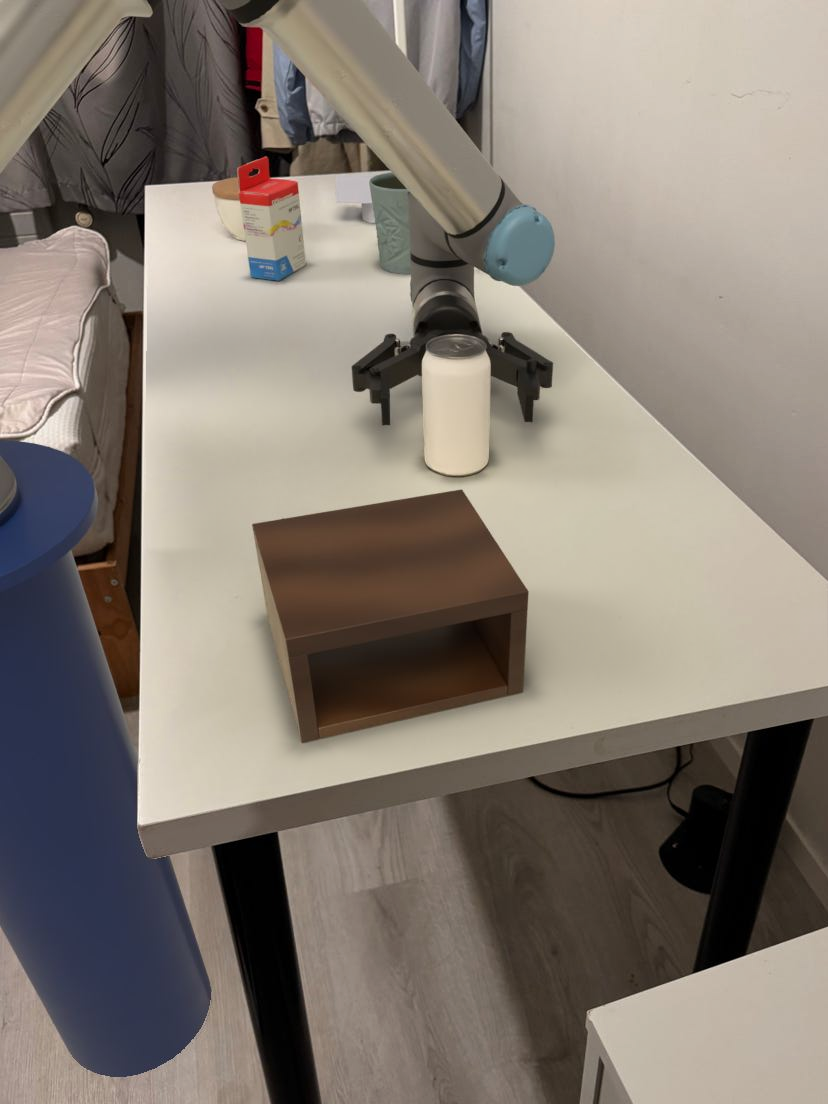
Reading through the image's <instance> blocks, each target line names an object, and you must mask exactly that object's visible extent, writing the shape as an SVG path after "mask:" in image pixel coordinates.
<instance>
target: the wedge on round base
mask: <svg viewBox="0 0 828 1104" xmlns="http://www.w3.org/2000/svg"><path fill="white" fill-rule="evenodd" d="M376 175H377V174H335V201H334V202H335V204H361V216H362V217H361V218H362V220H364V221H365V222H368V223H369V224H375V218H374V211H373V207H374V206H373V202H372V198H371V192H370V185H369V181H370V179H371V178H372V177H374V176H376Z"/></svg>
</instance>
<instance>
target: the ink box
mask: <svg viewBox="0 0 828 1104" xmlns="http://www.w3.org/2000/svg"><path fill="white" fill-rule="evenodd" d="M269 160H270V159H269V157H268V156H266V155H265V156H264V157H261V158H258V159H255V160H252V161H250V162H247V163H246V164H243V165H240V166H238V167H237V169H236V173H237V174H236V175H237V176H236V177H238V184H239V198H240V205H241V212H242V218H243V225H244V232H245V239H246V241H245V246H246V252H247V259H248V266H249V274H250V277H251V278H254V279H261V280H268V281H277V282H278V281H279V282H280V281H281V280H282V279H284V278H287V277H288V276H290V275H291V274H293V273H295V272H296V271H298V270H300V269H302V268H303V267H305V266H306V265H307V260H306V252H305V250H306V249H305V240H304V234H303V233H304V229H303V220H302V213H301V212H302V211H301V203H300V201H301V200H300V191H299V182H298V181H296V180H291V179H285V178H283V179H282V178H271V177H270V163H269V162H270V161H269ZM253 170H258V172H257V173H256V174H254V175H251V176H252V177H249V176H250V173H251V172H253ZM270 178H271V179H270Z"/></svg>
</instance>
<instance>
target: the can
mask: <svg viewBox="0 0 828 1104" xmlns="http://www.w3.org/2000/svg"><path fill="white" fill-rule="evenodd" d="M486 347H487V346H486V343H485V342H484V341H483V340H481V339H479V338H477V337H473V336H469V335H461V334H451V335H443V336H438V337H435V338H433V339H431V340H429V341H428V342H427V344H426V349H427V350H426V353H425V355H424V357H423V360H422V376H421V394H422V397H421V398H422V429H423V431H422V432H423V454H424V455H423V456H424V462H425V464H426V466H427V467H429V469H430V470H431V471H433V472H435V473H437V474H440V475H443V476H447V477H466V476H472V475H475V474H477V473H479V472H481V471H482V470H483V469H484V468H485V467H486V465H488V463H489V460H490V459H489V458H490V435H491V434H490V430H491V429H490V426H491V380H492V379H491V378H492V376H491V364H490V359H489V356H488V354H487V352H486Z"/></svg>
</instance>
